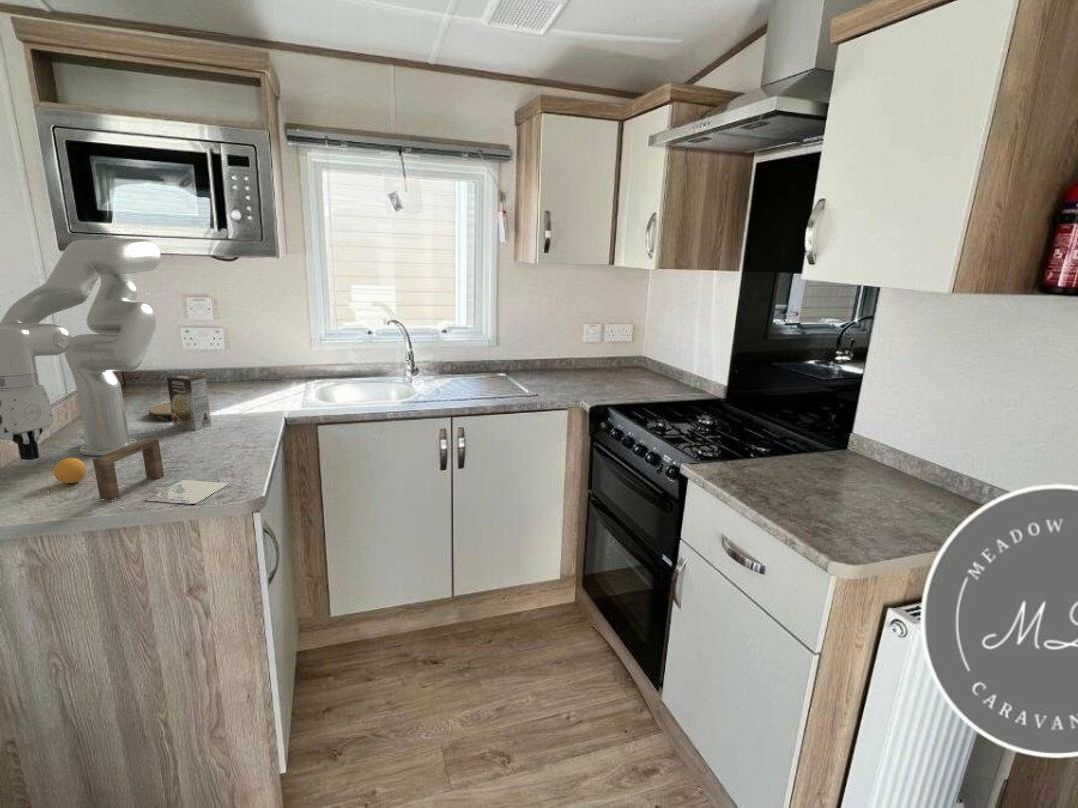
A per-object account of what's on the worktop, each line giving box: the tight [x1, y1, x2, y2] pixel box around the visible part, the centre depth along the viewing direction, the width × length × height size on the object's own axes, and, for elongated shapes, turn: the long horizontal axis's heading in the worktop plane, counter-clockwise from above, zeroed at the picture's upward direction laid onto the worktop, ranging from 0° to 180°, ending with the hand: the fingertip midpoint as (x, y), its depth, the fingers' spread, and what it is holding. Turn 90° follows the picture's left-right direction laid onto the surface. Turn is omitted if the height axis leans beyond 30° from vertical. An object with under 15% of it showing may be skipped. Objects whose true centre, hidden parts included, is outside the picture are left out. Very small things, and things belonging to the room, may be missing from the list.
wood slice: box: [148, 401, 173, 422], centre depth 191 cm, size 16×16×3 cm
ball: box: [53, 457, 88, 484], centre depth 135 cm, size 6×6×6 cm
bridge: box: [92, 437, 165, 500], centre depth 132 cm, size 3×15×10 cm, turn 172°
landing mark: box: [155, 479, 231, 504], centre depth 132 cm, size 12×12×1 cm
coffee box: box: [166, 372, 212, 431], centre depth 178 cm, size 9×6×16 cm
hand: (30, 458), depth 134 cm, fingers closed
